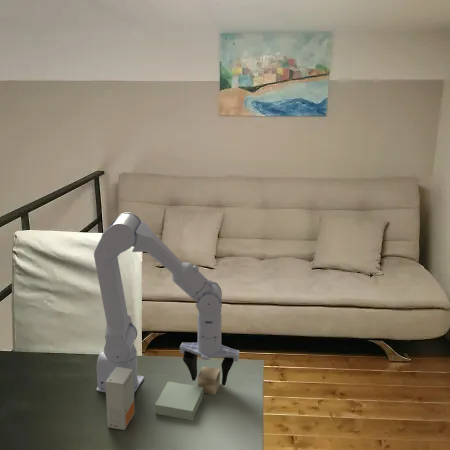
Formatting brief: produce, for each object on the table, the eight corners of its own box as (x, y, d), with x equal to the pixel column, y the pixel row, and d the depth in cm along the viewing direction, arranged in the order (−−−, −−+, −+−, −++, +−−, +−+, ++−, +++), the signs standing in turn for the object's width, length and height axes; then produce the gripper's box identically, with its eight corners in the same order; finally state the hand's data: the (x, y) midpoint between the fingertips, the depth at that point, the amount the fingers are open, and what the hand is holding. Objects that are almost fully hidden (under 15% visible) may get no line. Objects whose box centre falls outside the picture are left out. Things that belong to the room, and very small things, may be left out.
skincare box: (125, 431, 110) (122, 384, 107) (107, 428, 111) (104, 381, 107) (135, 413, 116) (133, 368, 112) (118, 410, 117) (115, 365, 113)
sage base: (155, 413, 116) (154, 404, 115) (168, 390, 124) (168, 381, 123) (192, 420, 114) (192, 411, 113) (203, 395, 122) (203, 387, 122)
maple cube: (197, 392, 124) (197, 376, 122) (202, 381, 128) (202, 366, 127) (215, 395, 123) (215, 379, 121) (219, 384, 127) (220, 368, 126)
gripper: (175, 336, 118) (176, 385, 123) (235, 345, 115) (234, 395, 119) (184, 322, 125) (185, 369, 129) (241, 330, 122) (240, 377, 126)
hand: (209, 380), depth 125 cm, fingers open, 7 cm apart
